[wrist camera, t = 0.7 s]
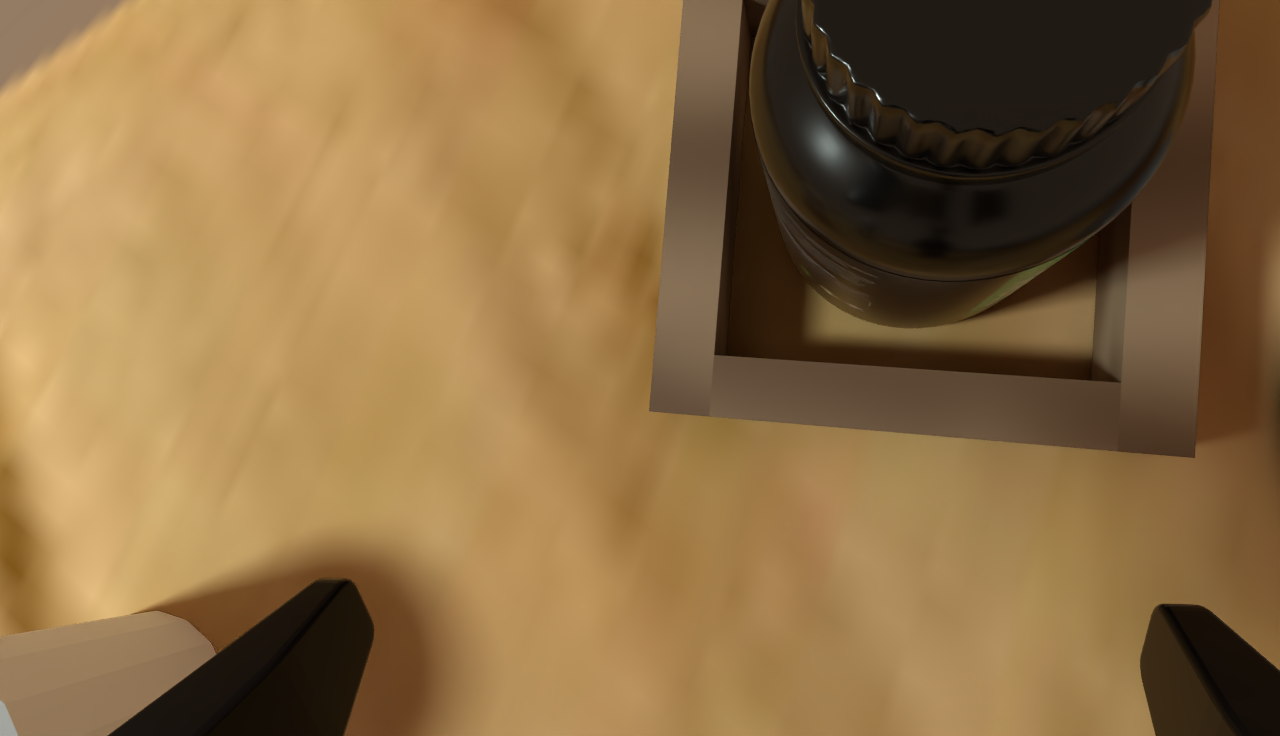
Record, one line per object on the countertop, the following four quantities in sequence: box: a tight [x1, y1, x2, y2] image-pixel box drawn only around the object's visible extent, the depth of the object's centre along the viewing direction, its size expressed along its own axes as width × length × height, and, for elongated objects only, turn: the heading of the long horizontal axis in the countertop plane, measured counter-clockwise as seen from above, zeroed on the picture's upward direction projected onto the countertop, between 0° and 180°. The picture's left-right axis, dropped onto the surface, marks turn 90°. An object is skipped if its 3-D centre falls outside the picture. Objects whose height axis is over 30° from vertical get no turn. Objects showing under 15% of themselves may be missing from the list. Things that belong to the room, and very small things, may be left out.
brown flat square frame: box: [649, 0, 1219, 458], centre depth 20 cm, size 12×12×2 cm
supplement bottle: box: [749, 0, 1212, 328], centre depth 16 cm, size 7×7×12 cm
